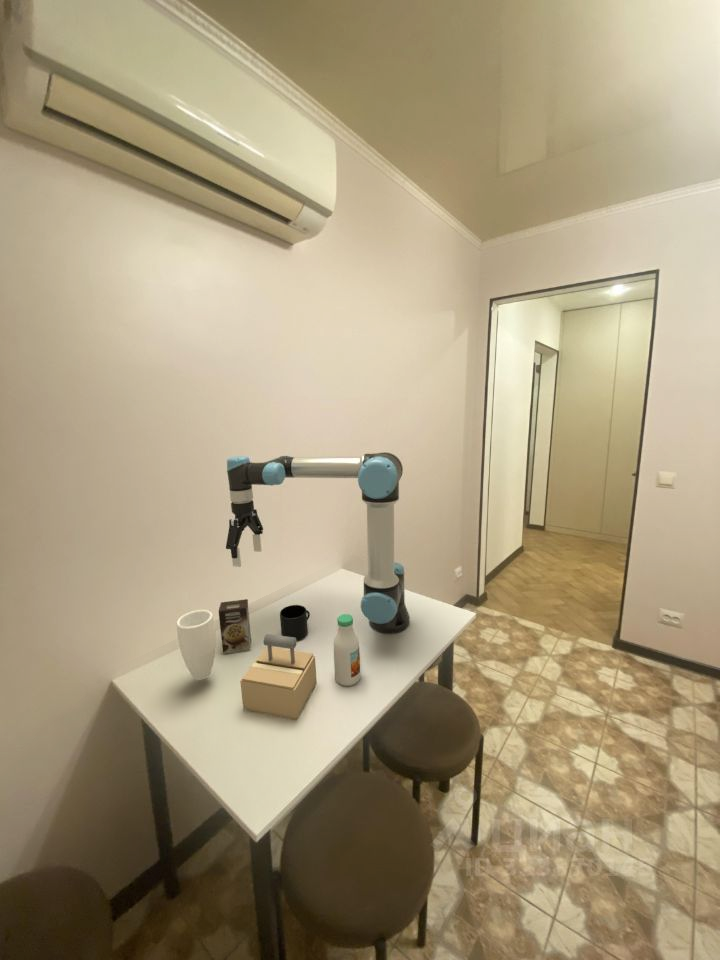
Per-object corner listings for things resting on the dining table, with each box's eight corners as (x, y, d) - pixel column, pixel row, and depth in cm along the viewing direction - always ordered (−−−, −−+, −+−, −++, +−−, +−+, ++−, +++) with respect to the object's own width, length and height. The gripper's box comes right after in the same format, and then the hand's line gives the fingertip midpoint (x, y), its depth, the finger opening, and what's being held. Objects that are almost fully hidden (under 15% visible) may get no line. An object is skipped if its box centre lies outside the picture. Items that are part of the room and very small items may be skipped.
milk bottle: (343, 690, 111) (339, 628, 107) (330, 675, 118) (327, 615, 114) (365, 679, 115) (363, 619, 111) (352, 665, 122) (349, 607, 118)
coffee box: (222, 655, 129) (217, 611, 126) (225, 643, 135) (220, 601, 132) (250, 651, 131) (246, 607, 127) (251, 639, 137) (247, 598, 134)
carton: (316, 682, 115) (314, 653, 113) (297, 720, 101) (294, 687, 100) (268, 674, 119) (265, 646, 117) (243, 709, 106) (239, 678, 104)
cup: (185, 677, 119) (176, 613, 115) (220, 667, 123) (213, 605, 119) (183, 700, 110) (173, 632, 105) (222, 689, 113) (214, 623, 109)
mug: (318, 629, 141) (317, 607, 140) (292, 645, 133) (290, 621, 131) (302, 620, 148) (300, 599, 146) (276, 635, 139) (274, 612, 137)
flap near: (313, 654, 113) (311, 629, 111) (303, 670, 107) (301, 643, 105) (267, 648, 117) (265, 623, 115) (256, 662, 111) (253, 636, 109)
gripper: (251, 492, 147) (256, 545, 151) (209, 510, 123) (217, 572, 128) (269, 492, 145) (274, 546, 149) (230, 511, 121) (237, 574, 126)
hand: (247, 558), depth 138 cm, fingers open, 13 cm apart
